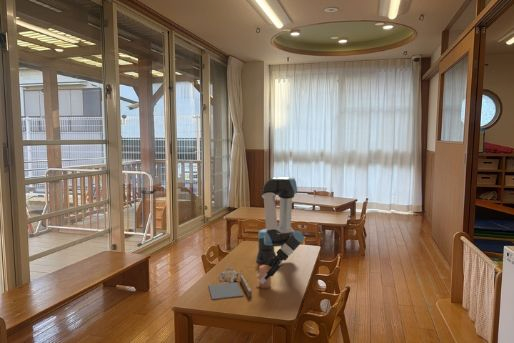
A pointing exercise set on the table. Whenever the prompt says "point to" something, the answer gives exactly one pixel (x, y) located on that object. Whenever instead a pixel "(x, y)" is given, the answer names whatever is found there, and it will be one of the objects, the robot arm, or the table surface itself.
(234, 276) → the turtle
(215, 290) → the mat
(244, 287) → the wooden plank
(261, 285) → the pink rounded cylinder
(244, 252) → the table surface
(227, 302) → the table surface
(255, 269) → the table surface
